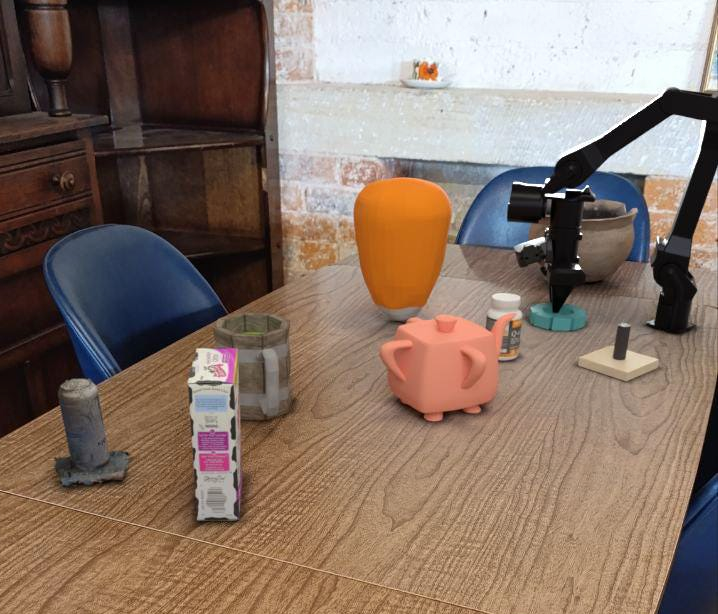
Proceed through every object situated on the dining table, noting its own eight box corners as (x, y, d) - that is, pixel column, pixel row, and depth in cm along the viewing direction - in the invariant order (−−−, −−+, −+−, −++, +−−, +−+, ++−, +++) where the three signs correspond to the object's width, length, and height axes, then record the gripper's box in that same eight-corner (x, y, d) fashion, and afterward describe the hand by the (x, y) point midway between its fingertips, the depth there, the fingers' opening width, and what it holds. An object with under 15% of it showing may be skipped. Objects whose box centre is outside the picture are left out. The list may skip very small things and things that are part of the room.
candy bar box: (242, 521, 96) (234, 382, 89) (196, 523, 96) (184, 383, 88) (245, 474, 106) (238, 345, 98) (203, 475, 106) (193, 346, 98)
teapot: (375, 419, 121) (377, 328, 115) (400, 379, 135) (403, 295, 128) (495, 434, 117) (505, 341, 111) (509, 391, 131) (518, 306, 125)
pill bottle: (517, 363, 142) (523, 303, 137) (482, 360, 143) (487, 300, 138) (518, 351, 147) (525, 293, 142) (484, 348, 148) (489, 290, 143)
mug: (210, 396, 128) (204, 316, 122) (281, 387, 131) (279, 309, 125) (235, 440, 115) (230, 353, 109) (314, 429, 118) (313, 344, 112)
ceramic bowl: (639, 293, 178) (651, 218, 171) (532, 292, 178) (540, 216, 171) (612, 266, 198) (623, 197, 191) (516, 264, 198) (523, 195, 191)
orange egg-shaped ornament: (337, 328, 156) (337, 182, 144) (372, 302, 170) (374, 167, 158) (429, 341, 150) (437, 190, 139) (457, 314, 164) (467, 174, 153)
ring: (551, 310, 167) (552, 299, 166) (594, 323, 161) (596, 311, 160) (518, 321, 161) (520, 309, 160) (562, 334, 155) (564, 322, 154)
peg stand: (609, 353, 146) (615, 312, 143) (657, 368, 141) (665, 326, 137) (577, 365, 141) (583, 323, 138) (626, 381, 135) (633, 338, 132)
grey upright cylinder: (61, 493, 101) (45, 397, 96) (53, 465, 107) (38, 373, 102) (140, 480, 105) (129, 386, 99) (128, 453, 111) (117, 363, 105)
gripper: (513, 214, 165) (506, 295, 172) (525, 236, 149) (516, 324, 156) (573, 215, 165) (563, 296, 172) (591, 237, 148) (579, 326, 156)
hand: (554, 310), depth 164 cm, fingers closed on ring, 2 cm apart
